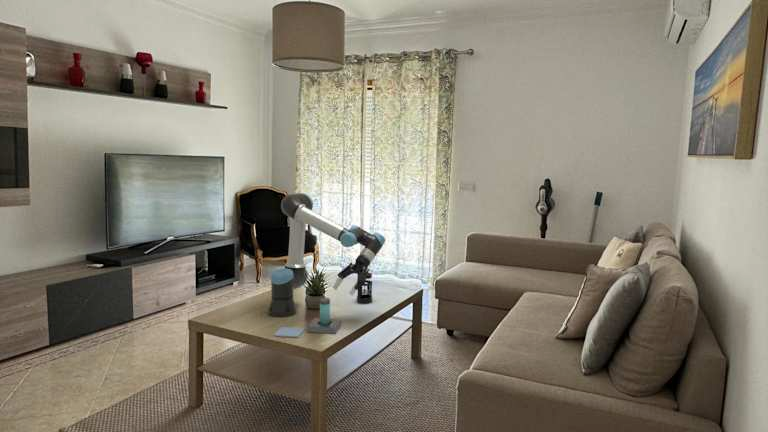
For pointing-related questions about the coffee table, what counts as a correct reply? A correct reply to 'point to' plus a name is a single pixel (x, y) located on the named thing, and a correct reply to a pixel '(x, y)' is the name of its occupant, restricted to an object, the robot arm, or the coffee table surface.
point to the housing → (324, 326)
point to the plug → (325, 311)
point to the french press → (365, 292)
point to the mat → (289, 332)
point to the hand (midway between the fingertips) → (342, 291)
